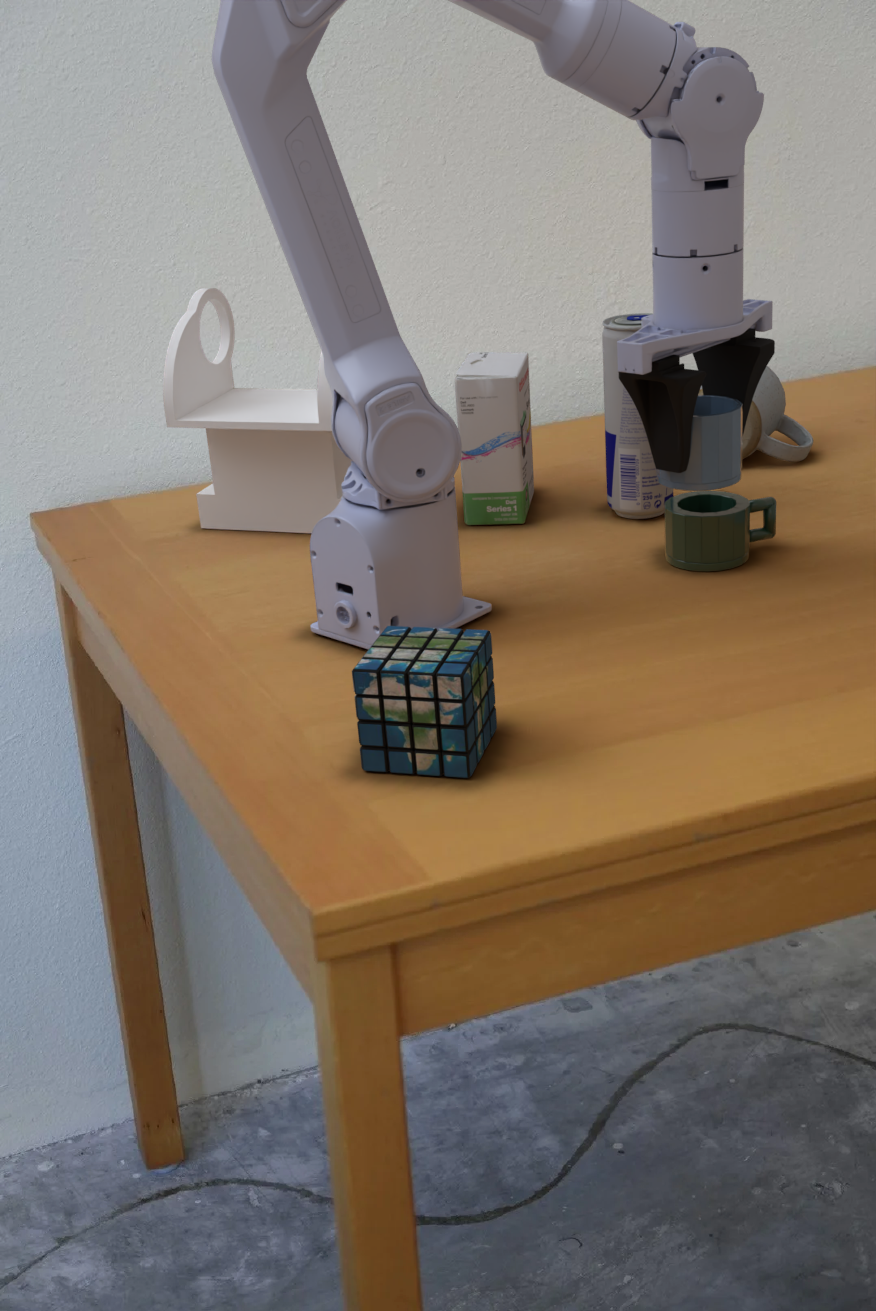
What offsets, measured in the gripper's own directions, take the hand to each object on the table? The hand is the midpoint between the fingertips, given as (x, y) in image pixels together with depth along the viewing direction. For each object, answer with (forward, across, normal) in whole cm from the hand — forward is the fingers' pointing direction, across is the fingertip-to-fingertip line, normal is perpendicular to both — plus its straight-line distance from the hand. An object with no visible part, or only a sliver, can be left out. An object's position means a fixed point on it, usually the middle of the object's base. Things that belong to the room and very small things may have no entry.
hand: (698, 457), depth 99 cm
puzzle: (+8, +31, +4) cm, 32 cm away
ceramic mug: (+8, -25, -12) cm, 29 cm away
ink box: (+8, -3, -21) cm, 23 cm away
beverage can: (+8, -8, -11) cm, 16 cm away
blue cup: (+1, 0, 0) cm, 1 cm away
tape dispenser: (+8, +8, -34) cm, 35 cm away
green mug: (+8, -3, 0) cm, 9 cm away
